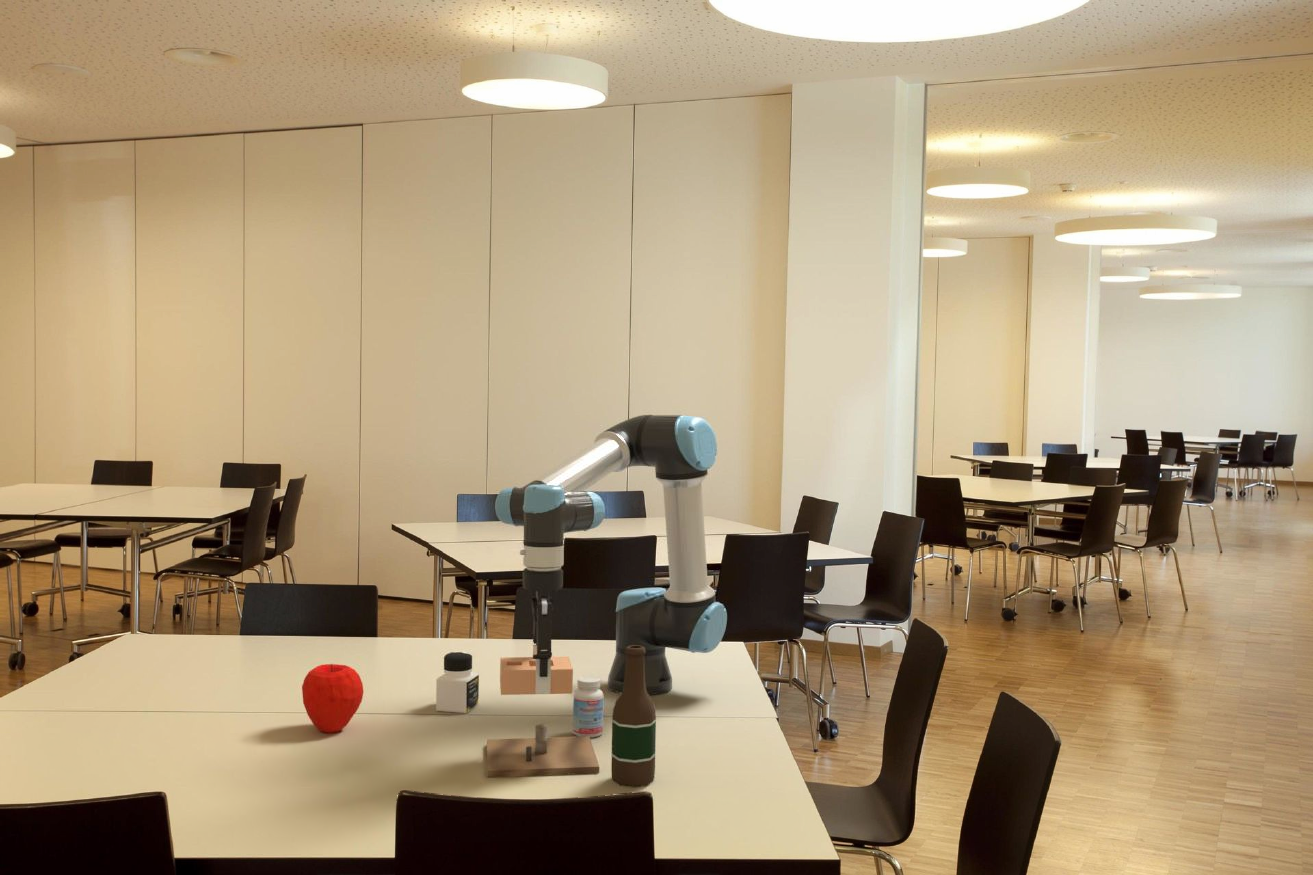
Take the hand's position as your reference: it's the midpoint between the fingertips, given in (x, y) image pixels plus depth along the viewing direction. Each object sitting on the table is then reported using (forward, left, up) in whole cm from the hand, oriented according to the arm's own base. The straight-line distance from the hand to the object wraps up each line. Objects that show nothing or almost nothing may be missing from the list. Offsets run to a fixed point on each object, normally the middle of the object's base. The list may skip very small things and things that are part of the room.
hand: (541, 685), depth 207 cm
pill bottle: (-10, -14, -14) cm, 22 cm away
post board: (0, 0, -14) cm, 14 cm away
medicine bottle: (+16, -36, -14) cm, 41 cm away
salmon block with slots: (0, 0, 0) cm, 0 cm away
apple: (+40, -22, -14) cm, 48 cm away
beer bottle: (-16, +13, -14) cm, 25 cm away
